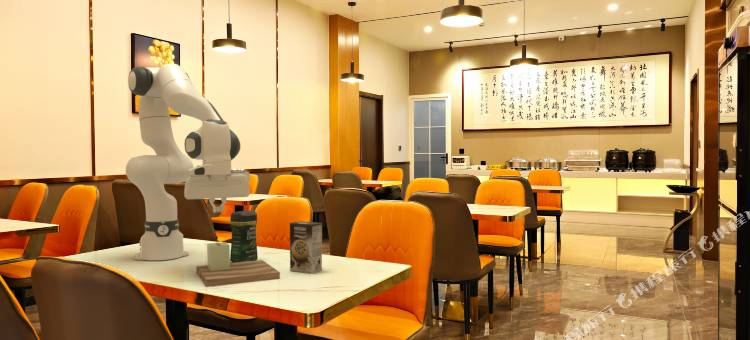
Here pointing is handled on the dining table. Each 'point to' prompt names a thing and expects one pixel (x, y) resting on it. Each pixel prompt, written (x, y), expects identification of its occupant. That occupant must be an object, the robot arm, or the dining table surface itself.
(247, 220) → the coffee jar
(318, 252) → the coffee box
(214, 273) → the post board
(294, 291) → the dining table surface
